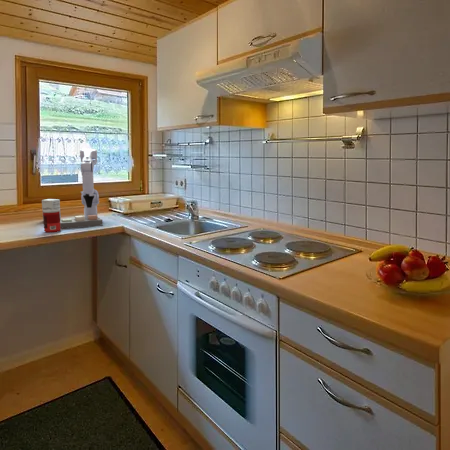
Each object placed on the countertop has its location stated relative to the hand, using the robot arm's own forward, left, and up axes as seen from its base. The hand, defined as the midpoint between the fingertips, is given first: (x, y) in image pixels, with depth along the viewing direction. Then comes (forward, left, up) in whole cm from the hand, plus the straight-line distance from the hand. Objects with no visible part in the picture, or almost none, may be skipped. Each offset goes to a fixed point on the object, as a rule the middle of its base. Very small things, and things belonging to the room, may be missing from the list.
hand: (89, 207), depth 226 cm
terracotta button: (+2, +1, -7) cm, 8 cm away
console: (+2, -6, -9) cm, 11 cm away
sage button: (+2, -13, -9) cm, 16 cm away
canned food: (+13, -22, -10) cm, 27 cm away
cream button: (+2, -6, -7) cm, 10 cm away
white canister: (-23, -17, -10) cm, 30 cm away
